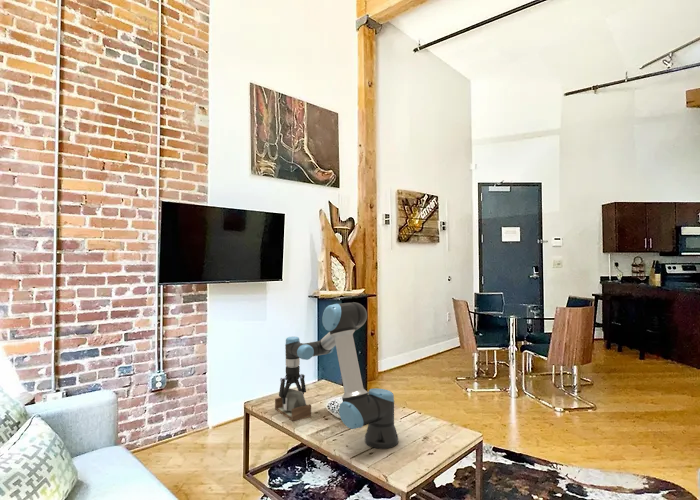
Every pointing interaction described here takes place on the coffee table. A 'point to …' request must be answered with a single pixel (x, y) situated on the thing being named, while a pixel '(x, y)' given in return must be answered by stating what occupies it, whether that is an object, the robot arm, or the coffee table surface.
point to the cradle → (293, 411)
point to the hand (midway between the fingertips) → (292, 407)
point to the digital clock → (294, 399)
